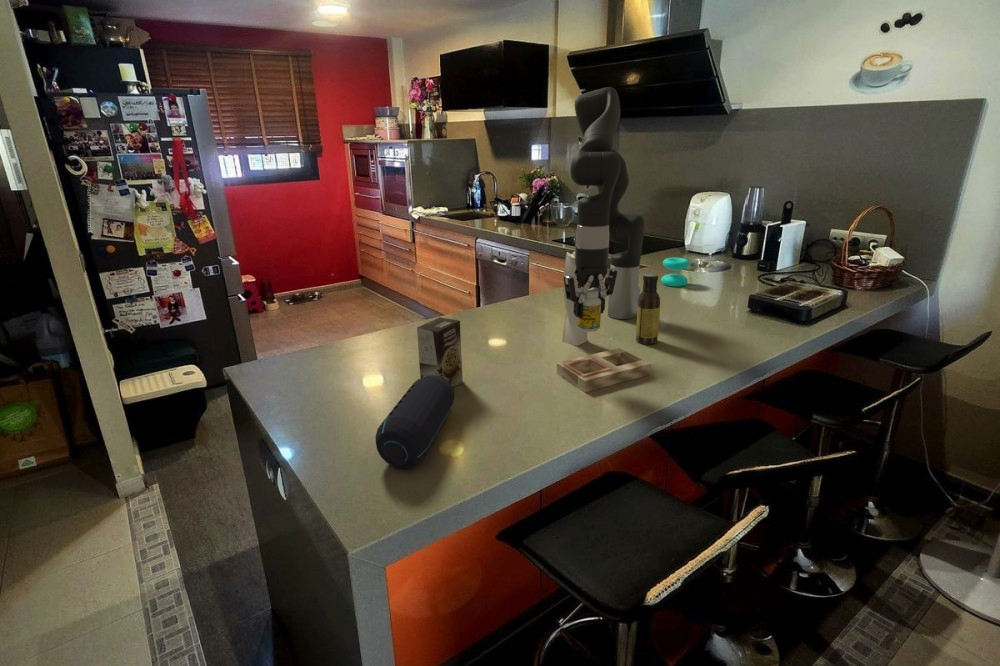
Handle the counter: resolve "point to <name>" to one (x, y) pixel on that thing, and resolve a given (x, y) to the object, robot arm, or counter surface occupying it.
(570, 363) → the cup caddy
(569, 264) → the skyscraper
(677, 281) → the donuts
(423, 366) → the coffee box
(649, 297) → the sauce bottle
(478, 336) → the counter surface
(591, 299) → the supplement bottle
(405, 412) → the portable speaker
